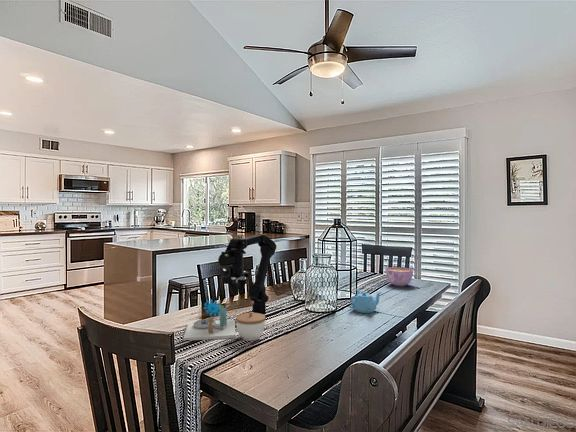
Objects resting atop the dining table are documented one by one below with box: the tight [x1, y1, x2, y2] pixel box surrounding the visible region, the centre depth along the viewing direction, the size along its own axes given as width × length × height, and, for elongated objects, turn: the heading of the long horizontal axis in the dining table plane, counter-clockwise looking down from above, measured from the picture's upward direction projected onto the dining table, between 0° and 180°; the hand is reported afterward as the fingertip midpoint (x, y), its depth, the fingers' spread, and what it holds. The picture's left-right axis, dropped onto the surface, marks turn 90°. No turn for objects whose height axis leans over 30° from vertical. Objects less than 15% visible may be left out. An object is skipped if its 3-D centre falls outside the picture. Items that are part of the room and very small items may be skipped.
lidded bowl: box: [235, 311, 266, 342], centre depth 156 cm, size 13×13×11 cm
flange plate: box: [194, 307, 228, 329], centre depth 167 cm, size 16×10×9 cm, turn 65°
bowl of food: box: [384, 266, 414, 287], centre depth 262 cm, size 20×20×12 cm
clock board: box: [182, 317, 236, 342], centre depth 165 cm, size 22×22×7 cm
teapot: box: [349, 288, 382, 314], centre depth 198 cm, size 15×15×10 cm
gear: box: [203, 299, 225, 317], centre depth 191 cm, size 11×6×10 cm
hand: (237, 294), depth 180 cm, fingers open, 4 cm apart
